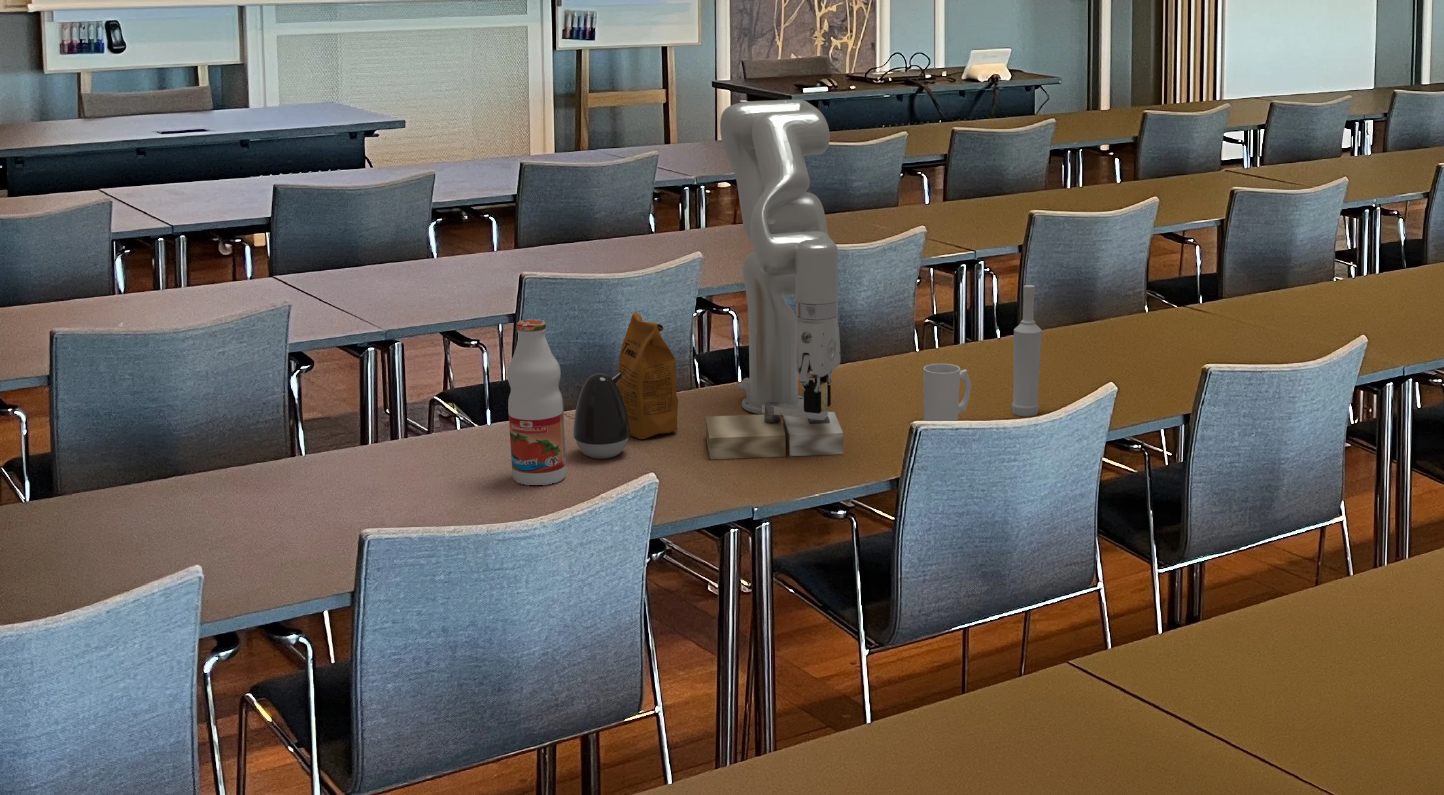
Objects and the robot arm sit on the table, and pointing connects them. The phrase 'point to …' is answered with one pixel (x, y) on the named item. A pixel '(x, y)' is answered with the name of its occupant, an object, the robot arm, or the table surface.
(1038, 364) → the bottle
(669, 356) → the coffee package
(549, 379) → the fruit juice
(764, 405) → the bar
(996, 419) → the table surface
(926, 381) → the mug
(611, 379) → the pump dispenser
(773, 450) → the stone-look twin blocks
